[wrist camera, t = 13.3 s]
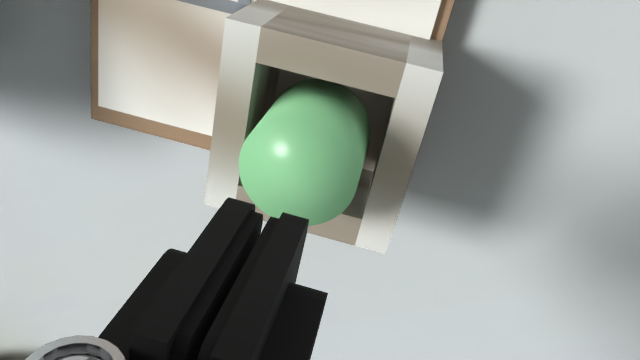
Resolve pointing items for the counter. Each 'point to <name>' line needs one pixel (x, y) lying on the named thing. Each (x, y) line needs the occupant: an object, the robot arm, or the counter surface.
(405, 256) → the counter surface
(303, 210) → the button
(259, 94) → the cream tray
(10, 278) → the counter surface
